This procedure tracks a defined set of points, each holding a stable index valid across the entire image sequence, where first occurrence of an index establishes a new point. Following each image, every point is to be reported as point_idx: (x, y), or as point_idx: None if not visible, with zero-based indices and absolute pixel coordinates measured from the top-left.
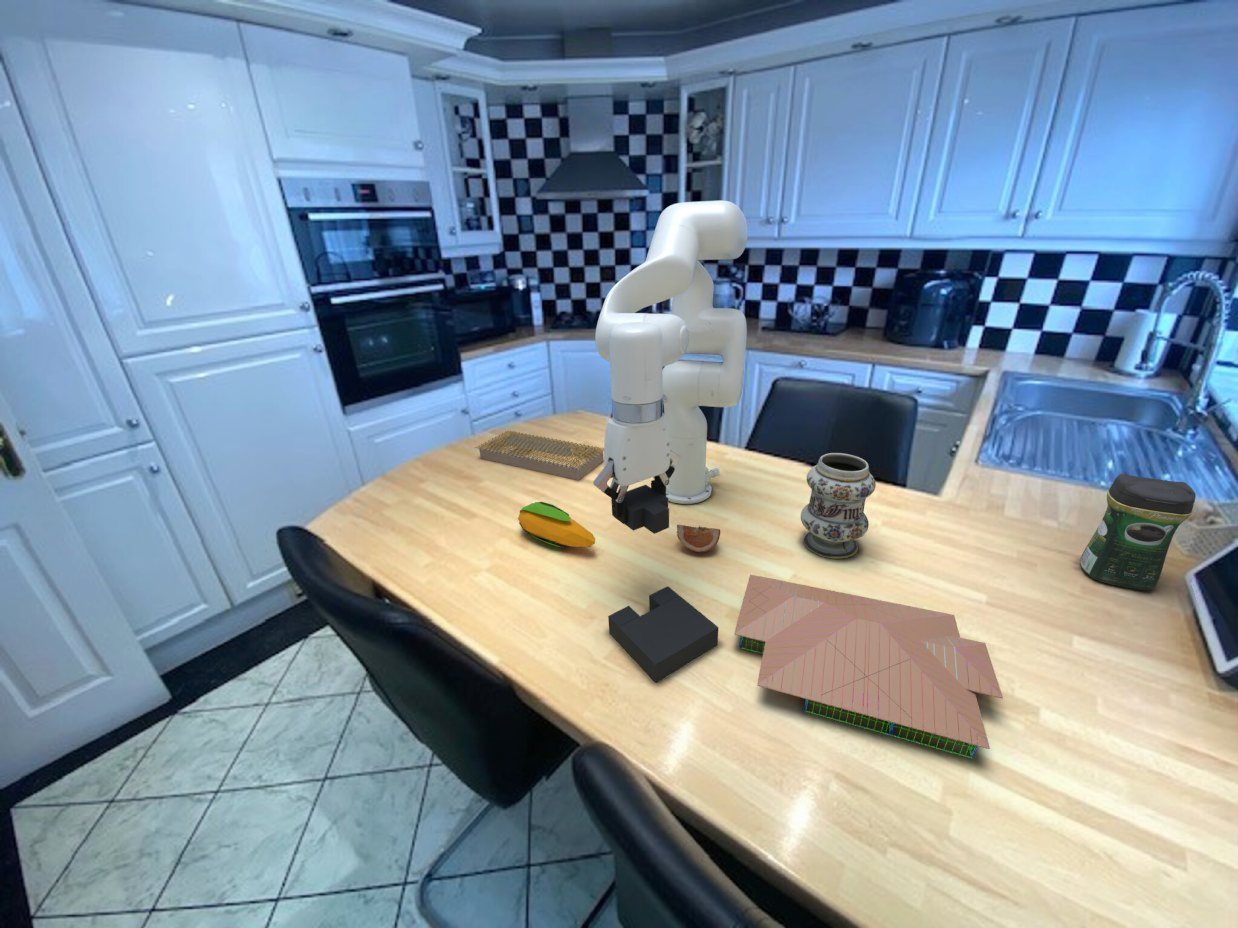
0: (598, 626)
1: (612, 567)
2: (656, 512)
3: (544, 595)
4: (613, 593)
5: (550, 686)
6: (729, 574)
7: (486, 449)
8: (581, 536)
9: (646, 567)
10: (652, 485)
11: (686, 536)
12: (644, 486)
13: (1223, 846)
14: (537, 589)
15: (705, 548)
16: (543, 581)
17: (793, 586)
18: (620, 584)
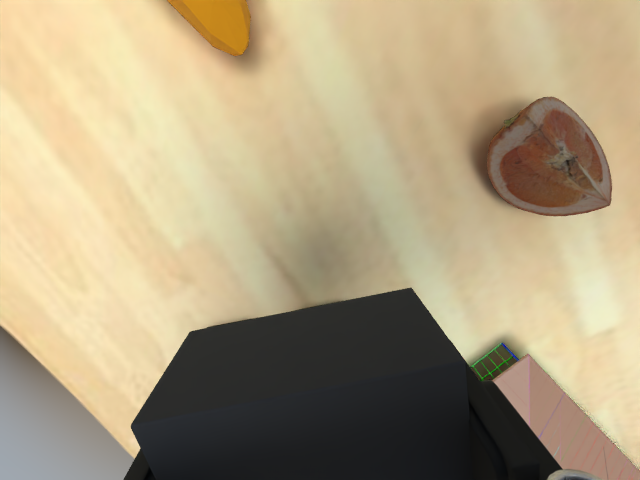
0: (191, 305)
1: (281, 136)
2: None
3: (90, 167)
4: (250, 230)
5: (86, 388)
6: (507, 278)
7: None
8: (195, 17)
9: (360, 175)
10: (484, 462)
11: (513, 157)
12: (438, 385)
13: None
14: (74, 136)
15: (524, 205)
16: (91, 110)
17: (563, 429)
18: (276, 208)
